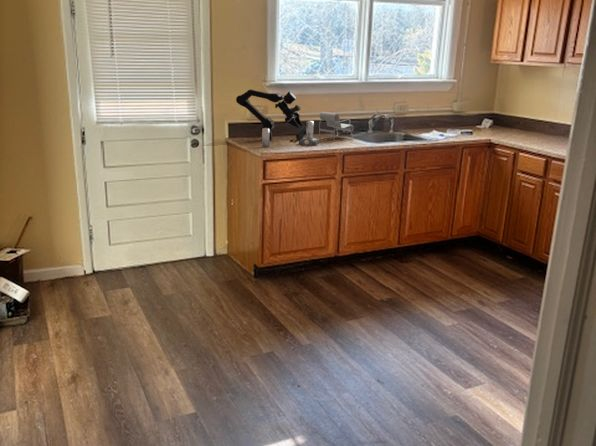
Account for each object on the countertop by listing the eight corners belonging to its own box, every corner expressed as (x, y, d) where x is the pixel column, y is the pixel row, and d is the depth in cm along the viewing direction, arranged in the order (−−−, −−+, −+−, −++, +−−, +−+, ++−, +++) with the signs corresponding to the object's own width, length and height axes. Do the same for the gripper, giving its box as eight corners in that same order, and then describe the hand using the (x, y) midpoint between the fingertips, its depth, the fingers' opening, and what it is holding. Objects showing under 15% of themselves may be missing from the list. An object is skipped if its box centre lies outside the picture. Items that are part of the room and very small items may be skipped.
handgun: (312, 135, 420) (309, 121, 413) (300, 148, 410) (297, 133, 402) (309, 135, 421) (306, 120, 414) (298, 147, 411) (295, 133, 403)
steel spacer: (307, 139, 390) (308, 121, 387) (304, 138, 394) (305, 120, 391) (314, 139, 392) (315, 121, 388) (311, 138, 396) (312, 120, 393)
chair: (318, 139, 413) (319, 112, 407) (338, 136, 431) (340, 109, 426) (333, 142, 405) (334, 114, 399) (353, 138, 423) (355, 111, 418)
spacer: (260, 147, 374) (261, 128, 370) (263, 146, 378) (263, 127, 375) (267, 147, 373) (268, 129, 369) (270, 146, 377) (270, 128, 374)
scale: (297, 144, 387) (297, 139, 386) (303, 141, 401) (303, 136, 400) (315, 146, 384) (315, 140, 383) (320, 143, 398) (320, 137, 397)
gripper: (290, 102, 380) (305, 120, 381) (297, 99, 397) (312, 117, 398) (278, 113, 384) (293, 131, 385) (286, 110, 402) (300, 127, 402)
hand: (300, 126), depth 392 cm, fingers open, 9 cm apart
